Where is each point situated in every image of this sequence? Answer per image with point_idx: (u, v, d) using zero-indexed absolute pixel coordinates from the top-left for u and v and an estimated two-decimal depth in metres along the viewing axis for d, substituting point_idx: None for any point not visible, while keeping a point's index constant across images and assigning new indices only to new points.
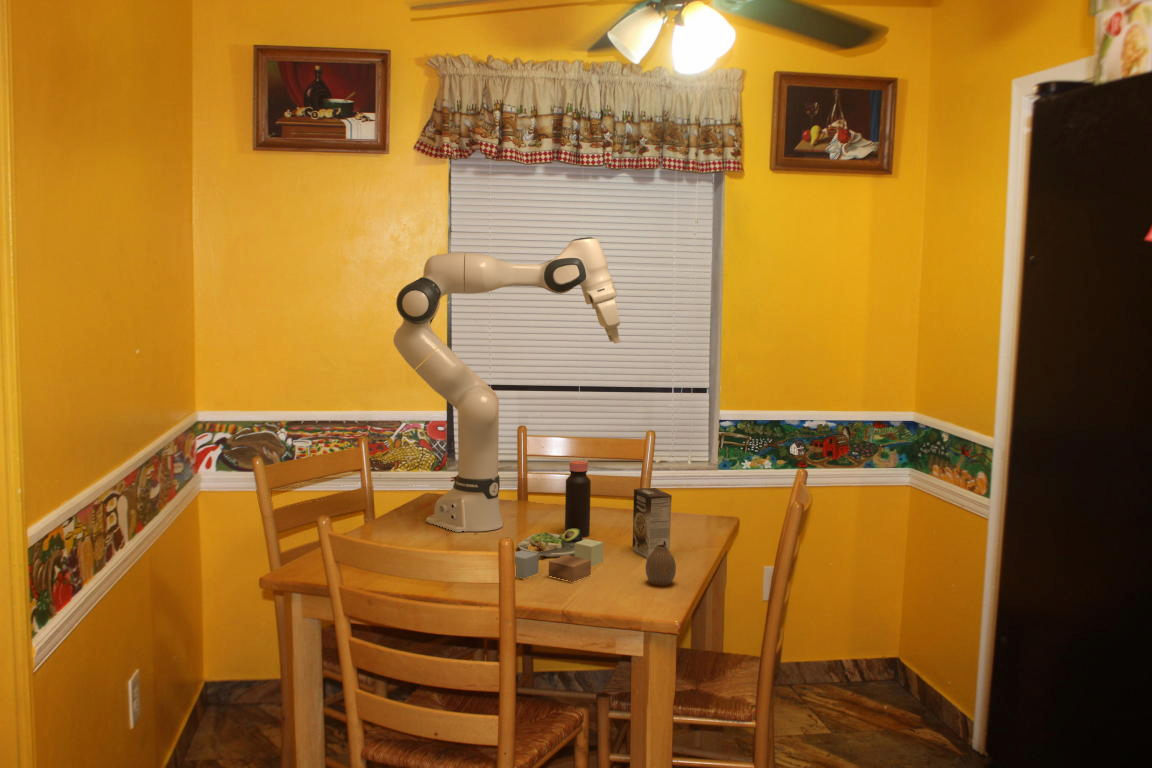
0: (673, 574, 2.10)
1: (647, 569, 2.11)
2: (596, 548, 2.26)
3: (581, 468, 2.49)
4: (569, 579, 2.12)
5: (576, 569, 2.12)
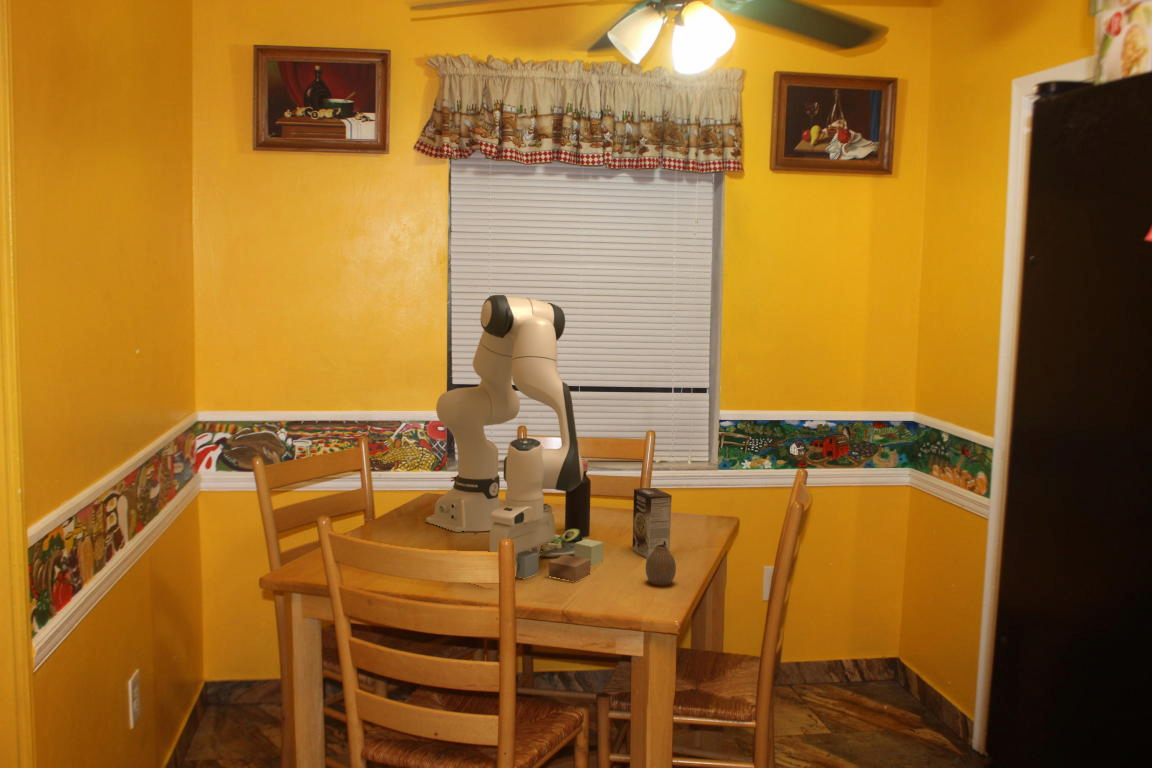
0: (673, 574, 2.10)
1: (647, 569, 2.11)
2: (596, 548, 2.26)
3: None
4: (571, 579, 2.12)
5: (578, 568, 2.12)
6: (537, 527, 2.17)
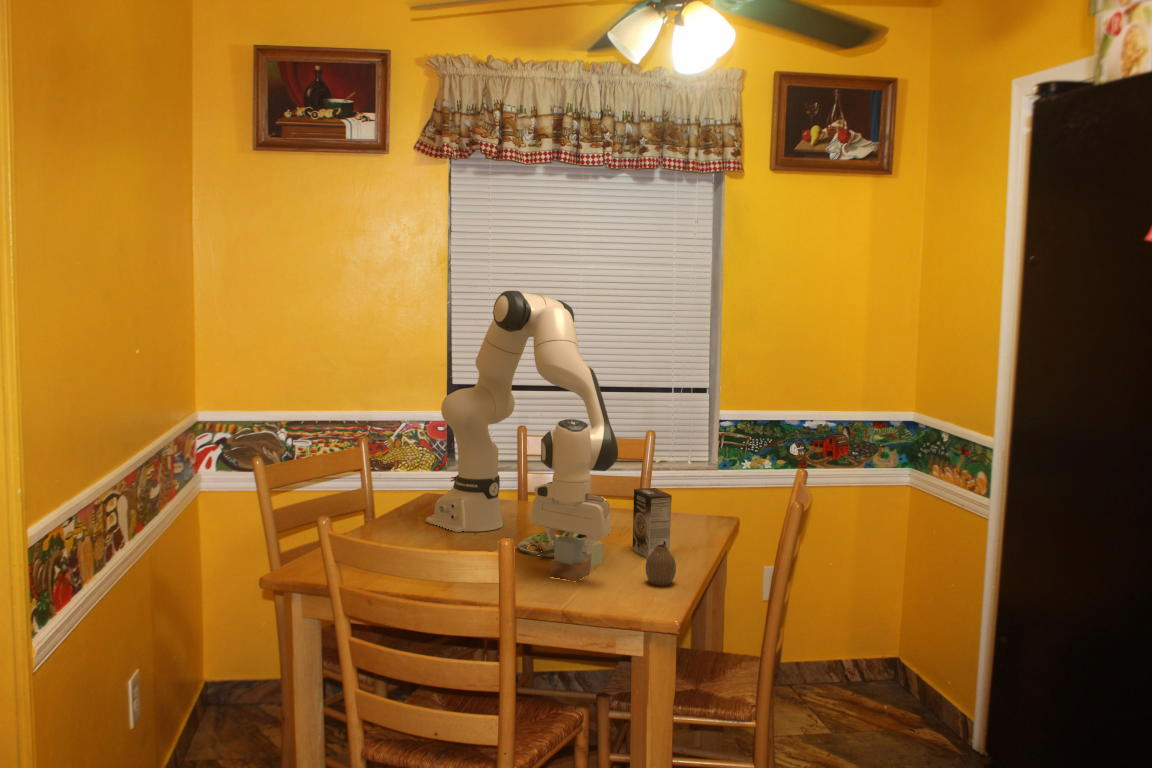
0: (673, 574, 2.10)
1: (647, 569, 2.11)
2: (596, 548, 2.26)
3: None
4: (572, 579, 2.12)
5: (579, 568, 2.13)
6: (578, 514, 2.12)
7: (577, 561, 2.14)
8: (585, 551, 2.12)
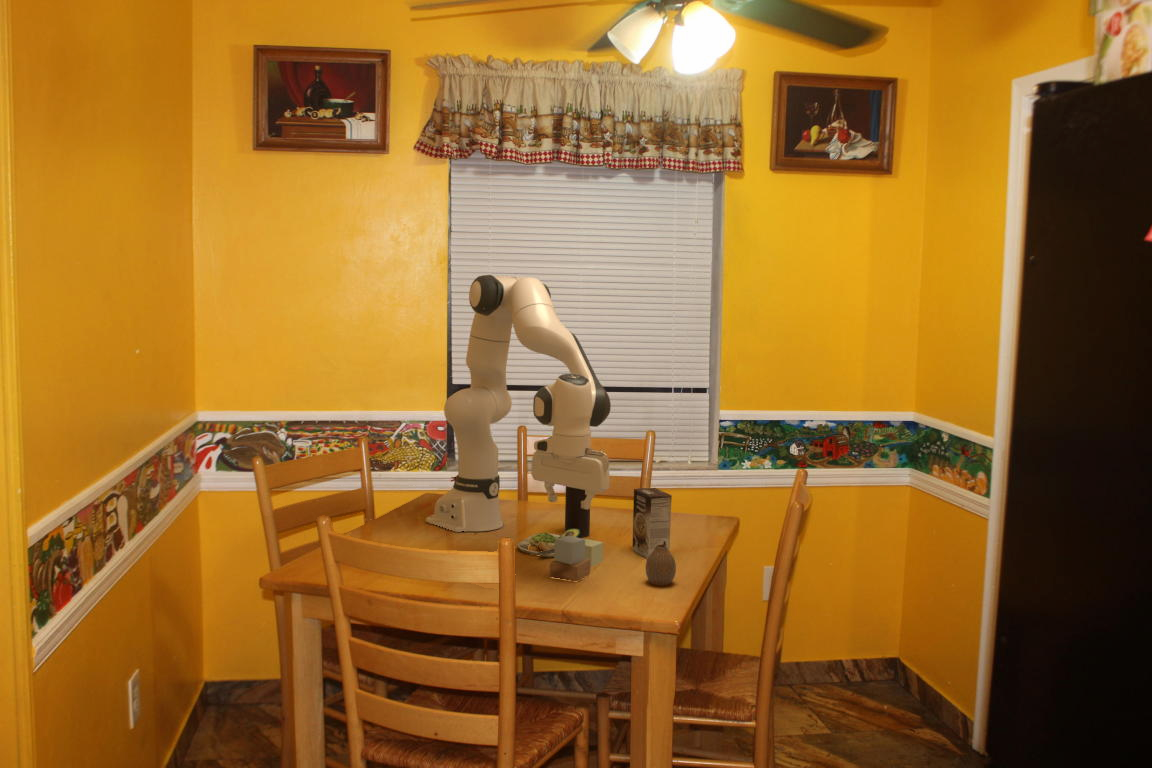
0: (673, 574, 2.10)
1: (647, 569, 2.11)
2: (596, 548, 2.26)
3: None
4: (573, 579, 2.12)
5: (579, 568, 2.12)
6: (578, 469, 2.11)
7: (577, 561, 2.14)
8: (584, 506, 2.11)
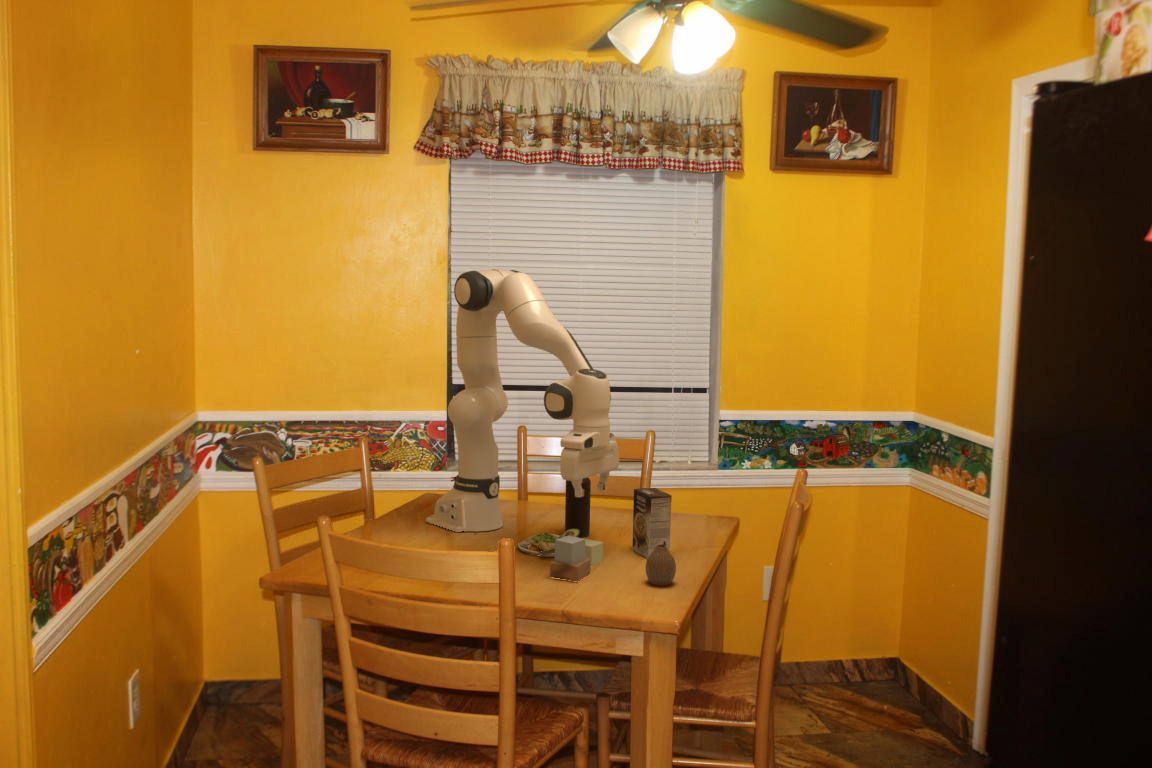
0: (673, 574, 2.10)
1: (647, 569, 2.11)
2: (596, 548, 2.26)
3: None
4: (573, 579, 2.12)
5: (580, 568, 2.12)
6: (604, 455, 2.27)
7: (577, 561, 2.14)
8: (604, 487, 2.30)
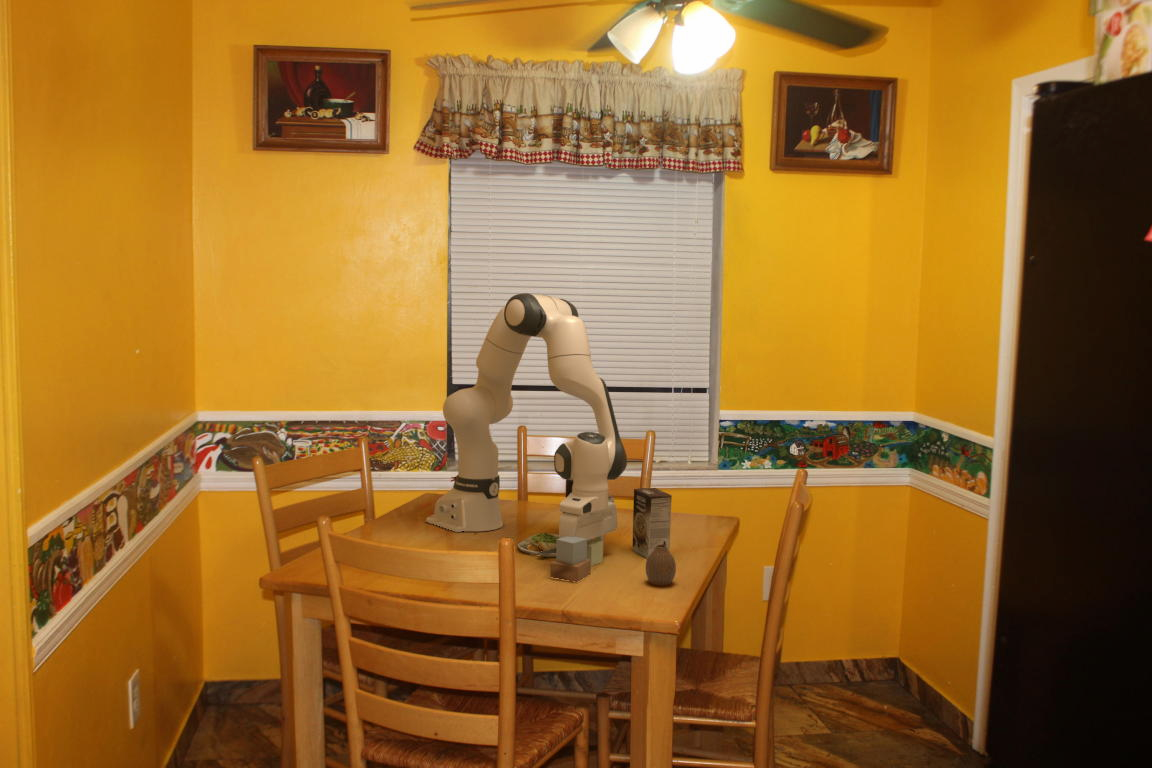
0: (673, 574, 2.10)
1: (647, 569, 2.11)
2: (596, 547, 2.26)
3: None
4: (573, 580, 2.12)
5: (580, 569, 2.12)
6: (602, 517, 2.29)
7: (579, 561, 2.15)
8: None
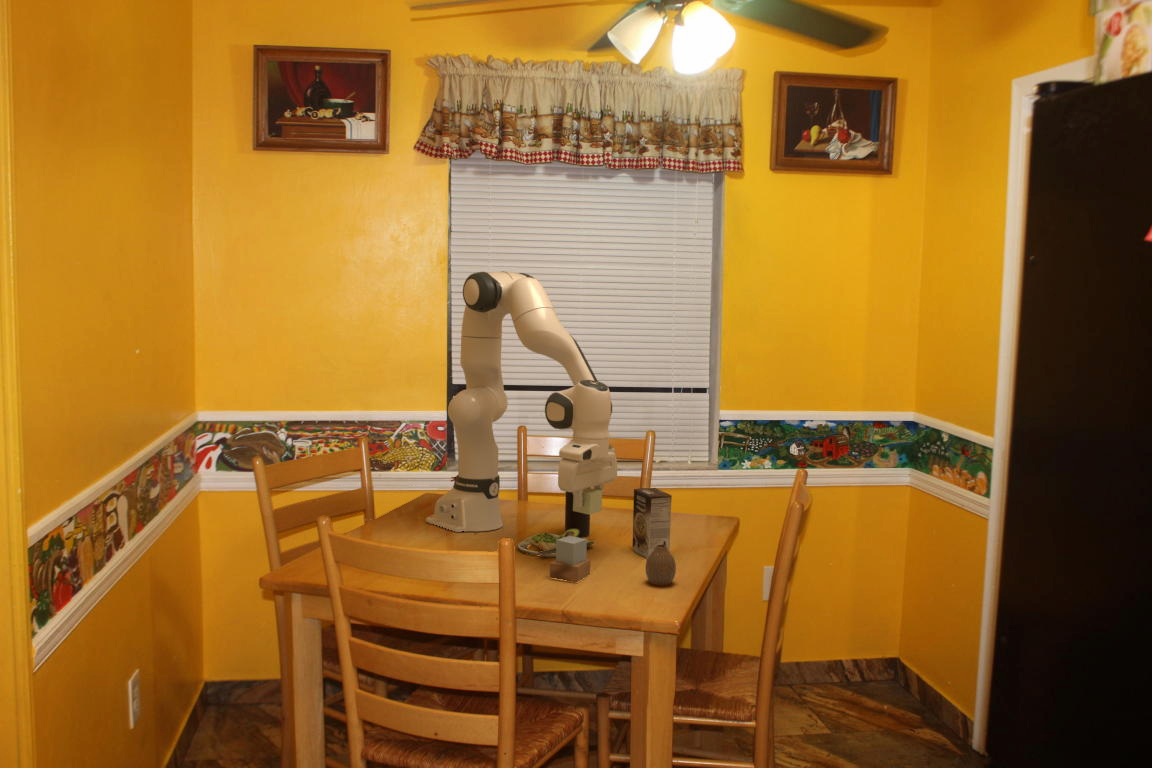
0: (673, 574, 2.10)
1: (647, 569, 2.11)
2: (595, 496, 2.24)
3: None
4: (573, 580, 2.12)
5: (579, 569, 2.12)
6: (602, 466, 2.27)
7: (579, 561, 2.14)
8: None
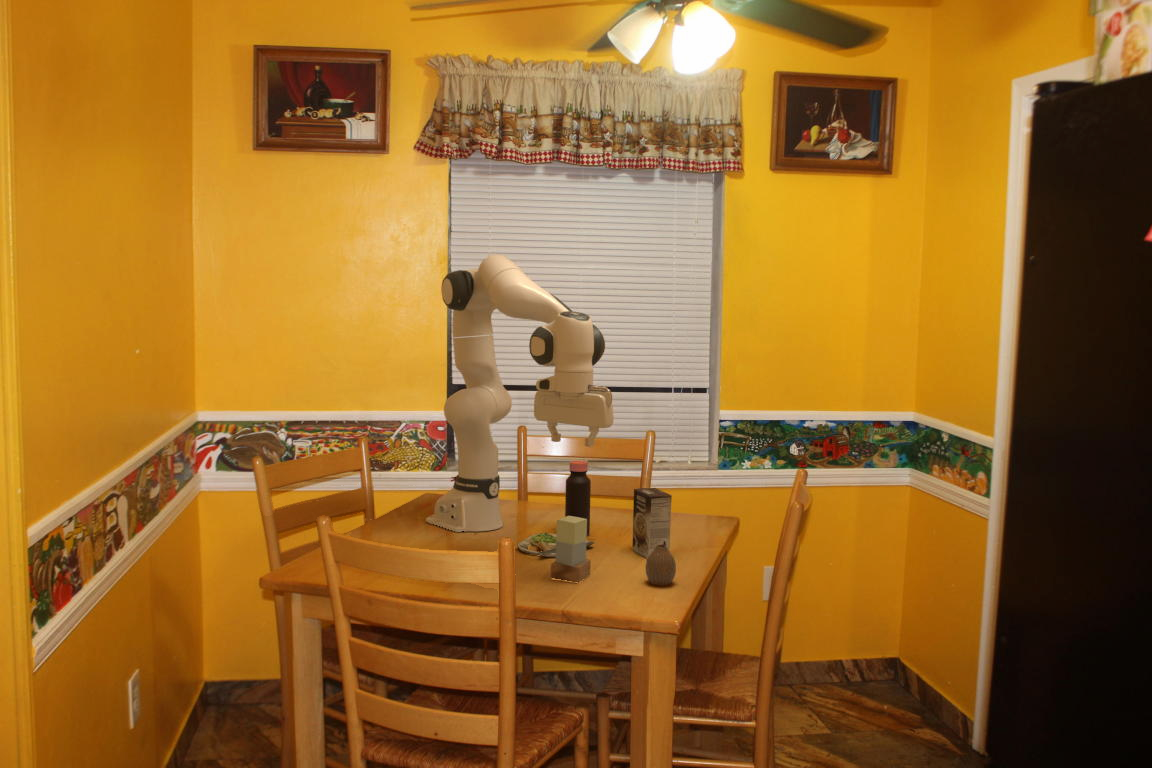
0: (673, 574, 2.10)
1: (647, 569, 2.11)
2: (563, 524, 2.12)
3: (581, 468, 2.49)
4: (574, 580, 2.12)
5: (581, 569, 2.12)
6: (581, 406, 2.09)
7: (578, 563, 2.13)
8: (588, 443, 2.10)
